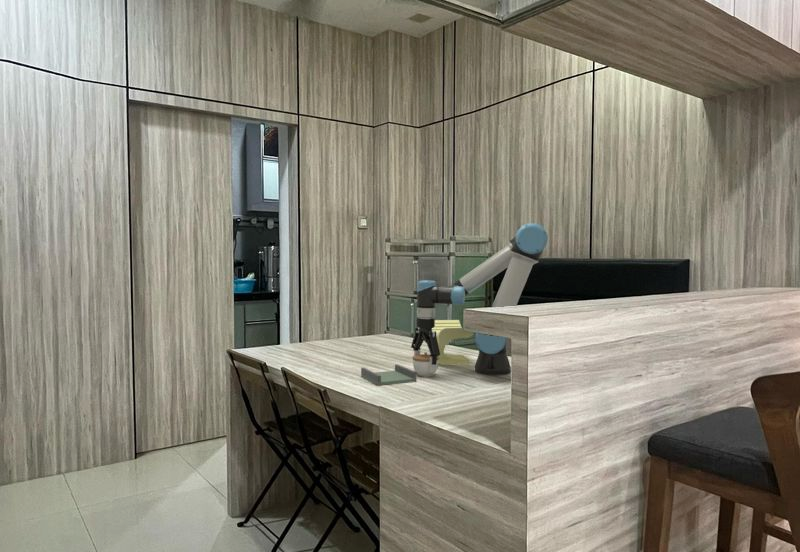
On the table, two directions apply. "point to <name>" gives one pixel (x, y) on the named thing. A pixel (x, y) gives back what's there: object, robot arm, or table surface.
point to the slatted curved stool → (444, 334)
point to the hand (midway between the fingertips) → (424, 369)
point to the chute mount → (389, 376)
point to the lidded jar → (423, 365)
